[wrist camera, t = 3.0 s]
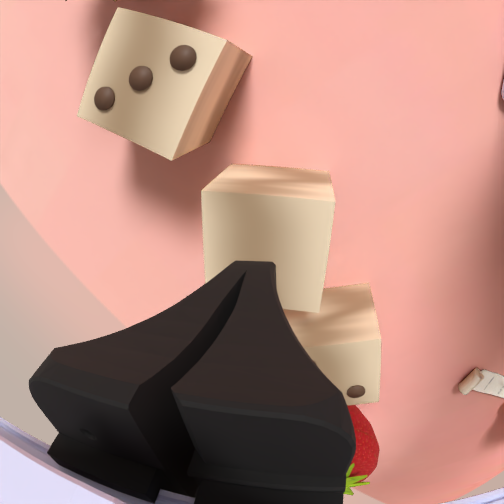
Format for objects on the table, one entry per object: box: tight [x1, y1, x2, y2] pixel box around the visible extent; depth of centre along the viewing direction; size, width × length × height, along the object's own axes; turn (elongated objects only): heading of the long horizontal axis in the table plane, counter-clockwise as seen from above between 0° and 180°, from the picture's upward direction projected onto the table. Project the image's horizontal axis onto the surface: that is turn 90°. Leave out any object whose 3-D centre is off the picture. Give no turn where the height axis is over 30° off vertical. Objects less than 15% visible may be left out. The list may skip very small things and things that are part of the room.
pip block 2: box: [283, 283, 381, 405], centre depth 18 cm, size 5×5×5 cm
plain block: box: [201, 164, 335, 313], centre depth 15 cm, size 5×5×5 cm
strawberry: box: [343, 405, 379, 495], centre depth 19 cm, size 6×8×10 cm
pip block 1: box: [77, 7, 252, 161], centre depth 13 cm, size 5×5×5 cm
